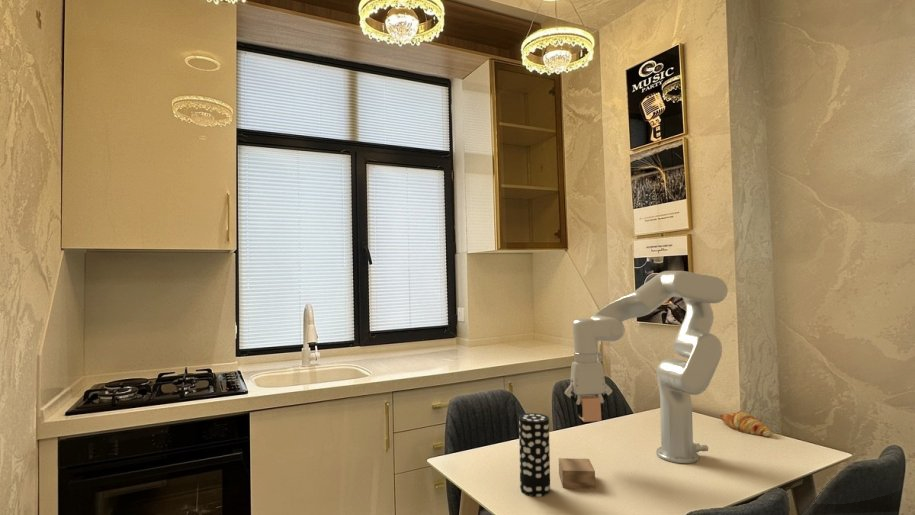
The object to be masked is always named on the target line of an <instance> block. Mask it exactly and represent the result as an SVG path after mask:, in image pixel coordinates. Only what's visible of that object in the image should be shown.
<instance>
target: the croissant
mask: <svg viewBox="0 0 915 515" xmlns="http://www.w3.org/2000/svg"><path fill="white" fill-rule="evenodd" d="M719 418H720V419H721V421H722V422H723V423H724V425H725V426H727V427H729V428H730V429H732V430H734V431H738V432H741V433H744V434H751V435H755V436H759V435H760V436H762V437H771V436H772V434H773V432H772V431H771V429H770V428H769V426H767V425H766V424H764V422H763V421H762V420H761V419H758V418H755V417H754V416H753V415H752V414H751V413H748V412H745V411H741V410H739V411H737V412H731V413H730V414H729V413H727V414H720V415H719Z"/></svg>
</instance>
